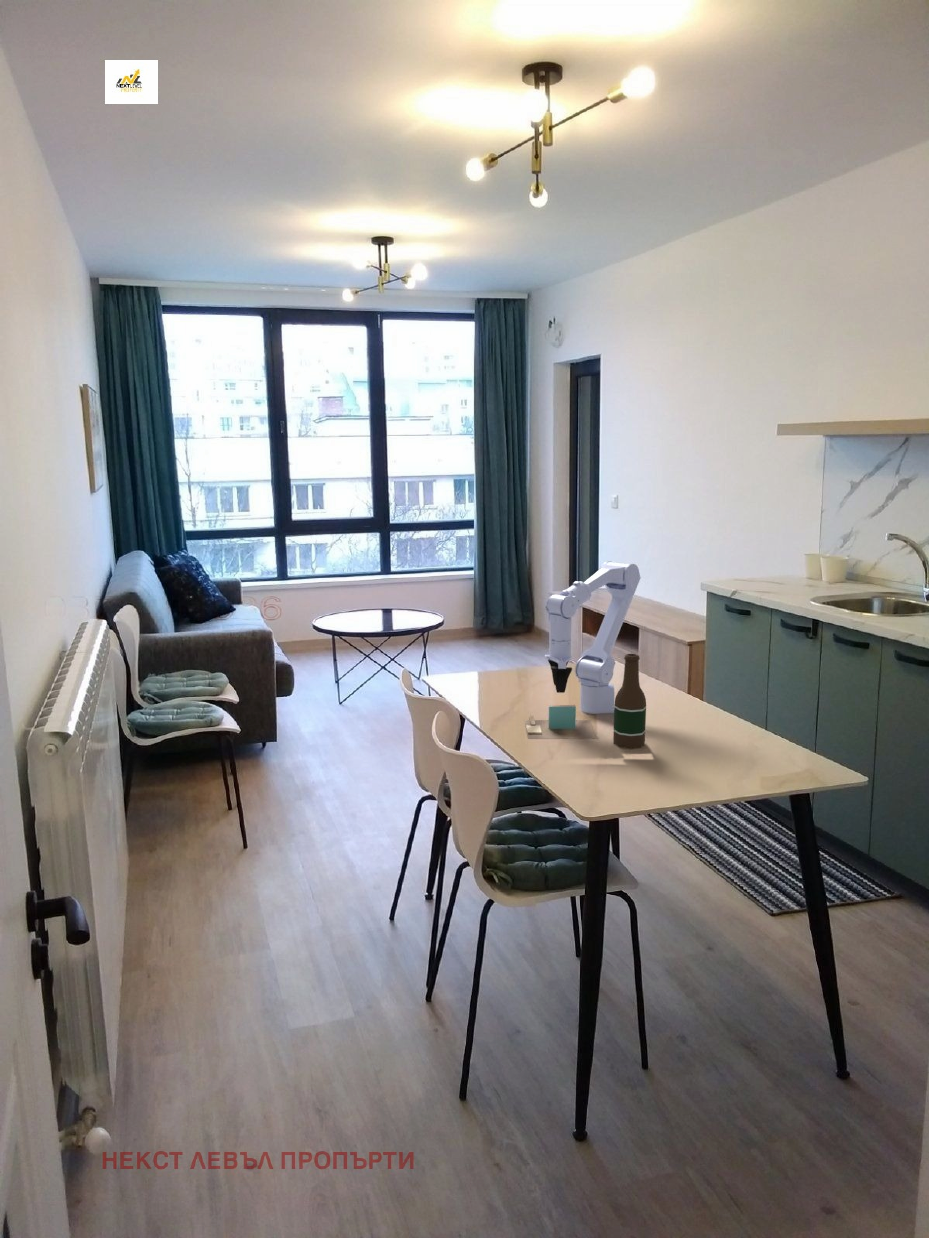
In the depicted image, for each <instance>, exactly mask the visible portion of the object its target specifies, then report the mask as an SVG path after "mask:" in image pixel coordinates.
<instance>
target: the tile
mask: <svg viewBox="0 0 929 1238" xmlns="http://www.w3.org/2000/svg"><path fill="white" fill-rule="evenodd" d="M576 709H577V707H576V704H571V705H570V704H548V709H547V710H548V711H547V713H548V715H547V717H548V719H547V720H548V728H549V729H575V720H576V719H577V718H576V716H577V715H576V713H577V712H576Z"/></svg>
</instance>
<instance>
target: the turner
mask: <svg viewBox="0 0 929 1238" xmlns="http://www.w3.org/2000/svg"><path fill="white" fill-rule="evenodd" d="M528 720H529V721H530V725H526V727H525V729H526V728H527V732H526V734H527V733H528V734H542V732H541V728H540V725H535V720H536V719H535V716H534V715H529V716H528Z"/></svg>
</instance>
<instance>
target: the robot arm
mask: <svg viewBox="0 0 929 1238" xmlns="http://www.w3.org/2000/svg"><path fill="white" fill-rule="evenodd" d="M640 574H641V573H640V569H639V567H638V565H637V564H635V563H626V562H625V563H623V562H617V561H616V562H615V561H611V560H610V561H609V560H607V561H605V562H604V563H603V564H600V567H599V570H597V571H596V572H595V573H594V574H592V575H591V576H590V577H589V578H587V579H586V580H585V581H581V580H580V581H576V580H575V581H574V582H572V585H570V586H569V587H568V588H566V589H563V590H562V591H561V592H560V593H559V594H552V595H551V596H550V597H548V599H547V601H546V605H544V607H545V608H544V610H545V612H546V613H547V620H548V622H549V651H548V653H549V654H544V658H545V659H546V660H547V662H548V663H549V666H550V671H551V674H552V680H553V684H554V685H553V686H554V687H555V691H556V693H558V694H562V693H565V692H566V689H567V684H568V680H569V678H570V674H571V673H572V671H573V667H571V666H570V667H569V666H568V663H569V661H571V659H572V655H571V654H572V653H571V652H572V617H574V615H576V612H577V610H578V609H579V607H581V606H582V605H583V604H584V603H586V602H588V601H589V600H590V599H591V597H592V593H593V592H595V591H597V590H598V589H601V588H602V587H604V586H605V588H606V590H607V592H608V593H609V594H610V595H611V600H610V601H609V604H608V607H607V610H606V612H605V615H604V617H603V619H602V622H601V624H600V627H599V630H598V631H597V635H596V638H595V640H594V642H593V644H592V647H590V648H588V649H586V650H584V651H583V652H582V653H581V654H582V655H581V656H580V658H579V659H578V660H577V662H576V663H575V666H574V674H575V677H576V678H577V679H578V683H580V693H579V694H580V695H579V697H580V700H579V701H580V703H579V705H580V706H579V710H580V711H581V712H582V713H585V714H590V715H591V714H597V715H598V714H614V705H615V686H614V683H611V680H612V679H613V677H614V676H613V675H614V669H615V665H616V661H615V659H614V657H613V656H612V655H611V653H612V651H613V648H614V646H615V644H616V641H617V639H618V635H619V634H620V631H621V627H622V626H623V624H624V621H625V617H626V616H627V613H628V612H629V608H630V607H631V606H630V605H631V604H632V601H633V598H634V596H635V593H636V591H637V588H638V585H639V583H640V582H641V581H640V580H641V577H642V576H641V575H640ZM567 666H568V667H567Z"/></svg>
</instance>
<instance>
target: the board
mask: <svg viewBox="0 0 929 1238" xmlns="http://www.w3.org/2000/svg"><path fill="white" fill-rule="evenodd" d="M534 720H535V725H540V728H541V732H542V734H528V733H527V728H526V725H530V721H529V719H524V721H523V722H524V728H525V732H526V735H527V739H531V740H534V739H535V740H537V739H538V740H539V739H540V740H541V739H542V740H544V739H545V740H546V739H547V740H550V739H551V740H552V739H554V740H555V739H556V740H561V739H562V740H568V739H569V740H570V739H571V740H572V739H573V740H599V737H598V733H597V732H596V730H595V728H594V725H593V722H592V721H591V719H586V720H585V719H582V720H581V719H579V720H578V719H577V720H576V719H575V729H549V728H548V719H538V720H537V719H534Z"/></svg>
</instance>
